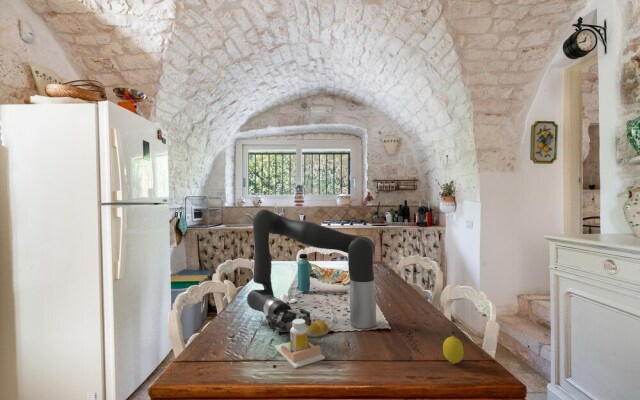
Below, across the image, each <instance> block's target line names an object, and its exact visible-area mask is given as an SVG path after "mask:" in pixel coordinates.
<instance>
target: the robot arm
mask: <svg viewBox="0 0 640 400" xmlns="http://www.w3.org/2000/svg"><path fill="white" fill-rule="evenodd" d="M252 226H253V227H252V228H253V241H254V263H253V279H252V280H253V282H254V283H255V284H258V285H259V284H260V285H262V287H263V289H252V290H250V291H249V293H248V294H247V298H246V303H247V304H248V306H249V308H251V309H252V310H254V311H258V312H262V314H264V315H265V325H266V326H267V327H268V328H269V329H270V330H275V329H277V330H280V331H282V332H283V333H286V332H288V331H287V329H288V328H287V324H289V323H290V324H291V323H292V322H293V320H295V319H304V320H305V325H307V326H311V322H312V318H311V312H310V311H307V310H305V309H304V308H299V310H298V311H297V310H293V309H292V306H291V305H288V302H287V303H285V302H283V301H282V299H281V298H280V299H281V300H280V299H279V297H278V298H277V297H276V296H275V294H274V291H273V285H272V284H273V283H272V257H271V256H272V255H271V250H270V242H269V241H270V234H274V235H277V236H278V235H279V236H283V237H287V238H289V239H291V240H293V241H294V242H295V241H296V242H297V243H300V244H303V245H306V246H309V247H312V248H317V249H323V250H335V251H340V252H343V253H346V254H347V256H348V257H347V263H348V264H347V265H348V273H349V302H350V303H349V304H350V305H349V306H350V307H349V308H350V309H349V310H350V311H349V313H350V317H349V318H350V319H349V320H350V322H349V323H350V325H351V327H353V328H356V329H362V330H363V329H364V330H365V329H370V328H371V329H372V328H373V326H374V327H377V301H376V300H375V273H374V264H373V263H374V262H373V261H374V259H373V258H374V257H373V256H374V254H375V252H376V251H375V250H376V245H375V243H374V242H373V241H372V240H371V239H370V238H368V237H366V236H363V235H361V236H360V235H355V234H349V233H344V232H341V231H338V230H336V229H333V228H330V227H327V226H323V225H321V224H318V223H317V224H316V223H313V222H311V221H310V222H309V221H305V220H304V221H303V220H295V219H294V220H293V219H291V218H287V217H284V216H281V215H279V214H277V213H275V212H272V211H270V210H268V209H259V210H257V211H256V212H255V213H254V215H253V217H252Z"/></svg>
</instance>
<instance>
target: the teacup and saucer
mask: <svg viewBox="0 0 640 400" xmlns="http://www.w3.org/2000/svg"><path fill="white" fill-rule="evenodd" d="M278 299H280V300H282V301H283V302H287V304H288V303H289V304H290V303H293V304H295V303H296V301H297V300H296V299H295V298H292V299H289V294H287V293H283V294H281V295H279V296H278ZM288 300H289V301H288Z"/></svg>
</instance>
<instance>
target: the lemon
mask: <svg viewBox="0 0 640 400" xmlns="http://www.w3.org/2000/svg"><path fill="white" fill-rule="evenodd" d="M442 353H443V356H444V357H445V359H446V360H447V361H448V362H450V363H451V364H452V365H455V364H457V363H460V362H461V361H462V360H463V358H464V354H465V353H464V346H463V344H462V342H461V340H460V339H458V338H457V337H455V336H454V335H452V336H449V337H447V338H446V339H444V341H443V344H442Z"/></svg>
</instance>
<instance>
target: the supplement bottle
mask: <svg viewBox="0 0 640 400" xmlns="http://www.w3.org/2000/svg"><path fill="white" fill-rule="evenodd" d="M291 323H292V327H291V328H290V330H289V339H290V341H289V342H290V351H291V353H293V352H297V351H300V350H304V349H307V341H308V336H307V328H306V327H305V325H306V324H305V320H304V319H303V318H301V319H297V318H296V319H295V320H293V322H291Z"/></svg>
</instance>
